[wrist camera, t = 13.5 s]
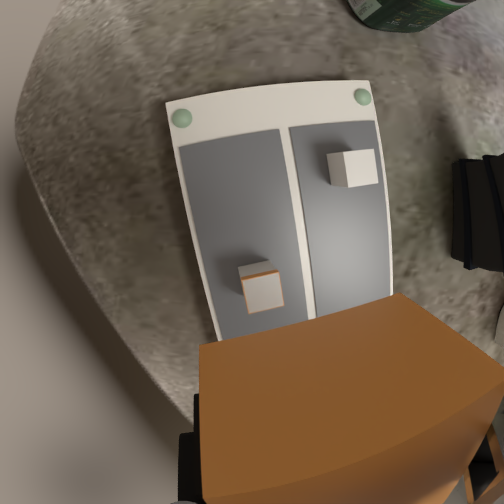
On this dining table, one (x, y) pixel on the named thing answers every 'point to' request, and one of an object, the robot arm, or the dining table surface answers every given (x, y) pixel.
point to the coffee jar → (404, 13)
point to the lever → (352, 168)
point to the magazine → (479, 212)
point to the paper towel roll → (500, 329)
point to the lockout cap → (344, 409)
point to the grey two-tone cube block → (261, 286)
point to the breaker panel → (283, 198)
